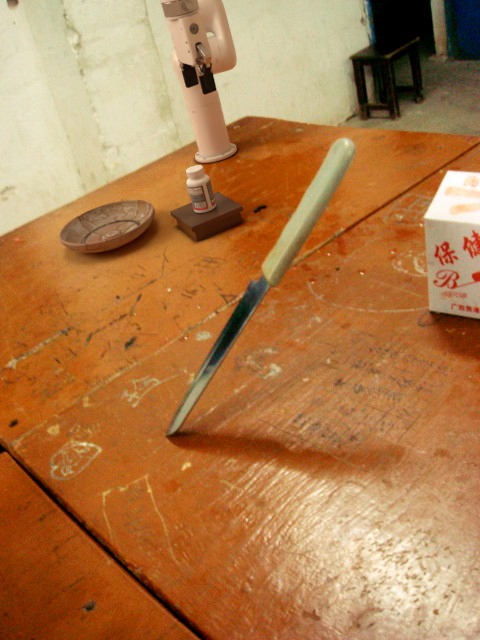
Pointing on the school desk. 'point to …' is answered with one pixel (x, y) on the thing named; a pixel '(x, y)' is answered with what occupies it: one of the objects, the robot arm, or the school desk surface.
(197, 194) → the pill bottle
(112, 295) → the school desk surface
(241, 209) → the platform
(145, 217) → the ceramic bowl
